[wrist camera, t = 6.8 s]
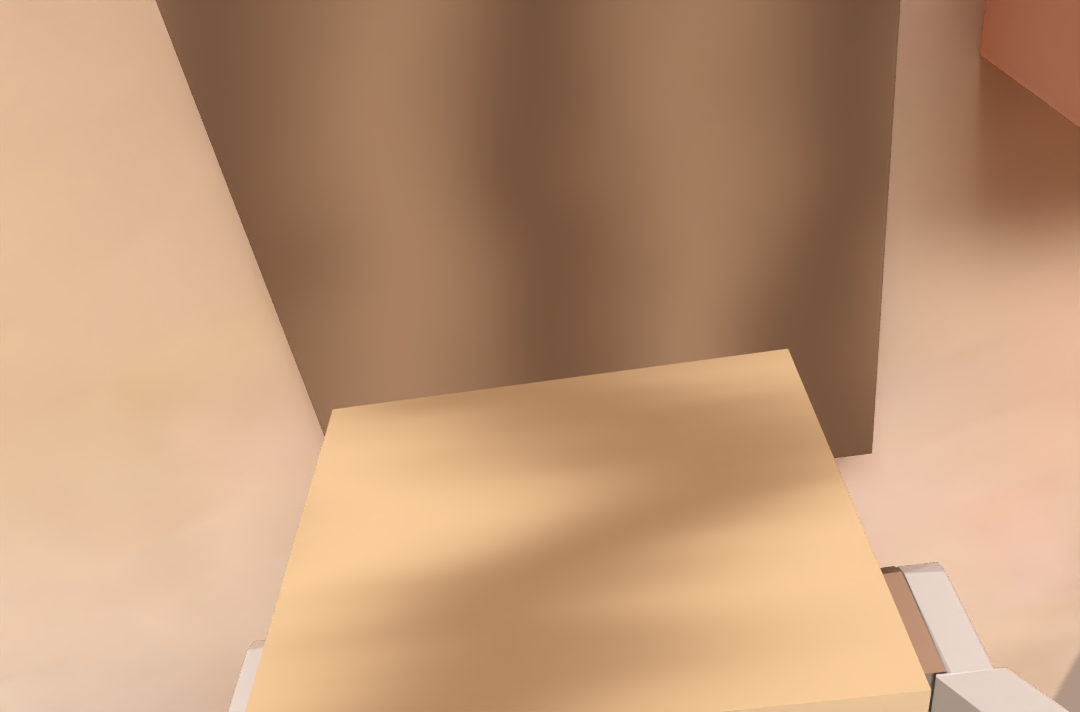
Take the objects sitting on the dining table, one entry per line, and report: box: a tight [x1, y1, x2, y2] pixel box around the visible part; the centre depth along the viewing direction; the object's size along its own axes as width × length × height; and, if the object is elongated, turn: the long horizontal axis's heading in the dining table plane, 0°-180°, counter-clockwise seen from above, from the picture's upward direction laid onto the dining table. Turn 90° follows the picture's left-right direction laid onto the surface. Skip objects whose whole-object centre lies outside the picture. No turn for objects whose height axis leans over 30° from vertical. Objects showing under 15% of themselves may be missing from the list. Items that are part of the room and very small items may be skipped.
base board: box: [156, 0, 900, 458], centre depth 21 cm, size 14×14×2 cm
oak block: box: [245, 349, 931, 712], centre depth 11 cm, size 6×6×5 cm
